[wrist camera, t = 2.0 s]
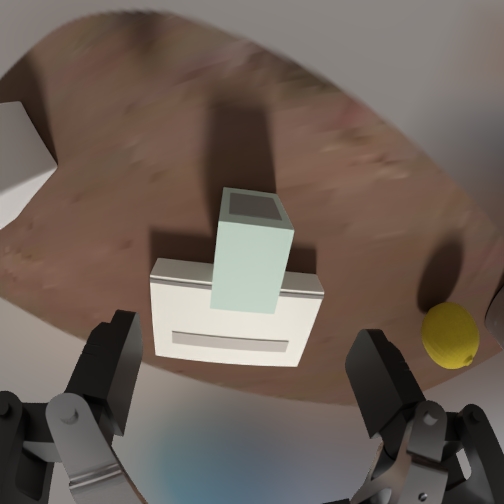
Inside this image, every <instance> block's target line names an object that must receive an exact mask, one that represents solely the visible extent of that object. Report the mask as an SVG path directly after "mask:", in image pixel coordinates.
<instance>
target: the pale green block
mask: <svg viewBox="0 0 504 504" xmlns="http://www.w3.org/2000/svg"><path fill="white" fill-rule="evenodd" d="M293 235H294V228H293V226H292V224H291V222H290V220H289V218H288V216H287V213H286V211H285V209H284V207H283V205H282V203H281V201H280V199H279V197H278V195H277V194H273V193H266V192H259V191H251V190H244V189H236V188H227V187H224V188H223V195H222V202H221V208H220V216H219V223H218V232H217V241H216V250H215V260H214V270H213V280H212V291H211V302H210V309H219V310H229V311H240V312H252V313H265V314H274V313H275V309H276V305H277V301H278V297H279V293H280V289H281V285H282V281H283V277H284V273H285V269H286V265H287V260H288V256H289V252H290V248H291V243H292V239H293Z"/></svg>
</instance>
